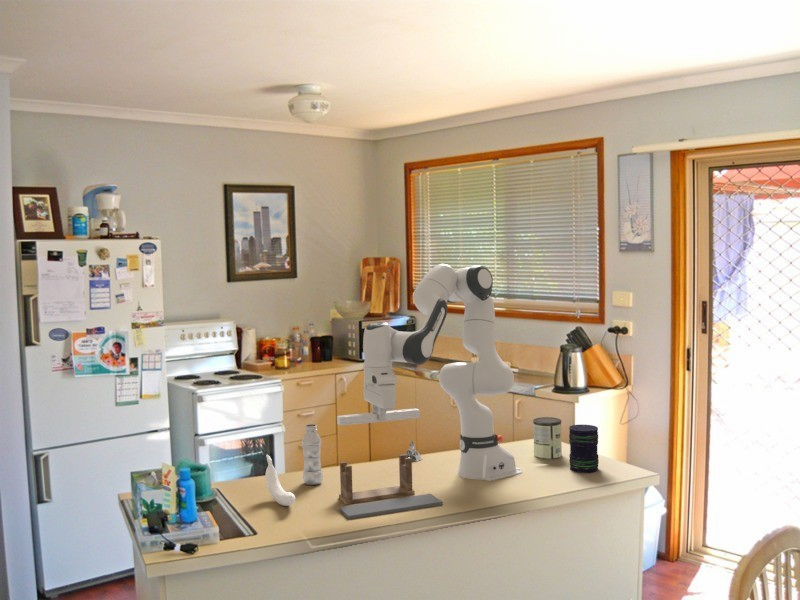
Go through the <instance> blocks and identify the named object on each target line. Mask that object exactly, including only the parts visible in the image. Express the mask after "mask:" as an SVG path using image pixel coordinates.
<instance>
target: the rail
mask: <svg viewBox="0 0 800 600" xmlns="http://www.w3.org/2000/svg"><path fill="white" fill-rule="evenodd" d="M420 412H421V410H420V409H418V408H405V409H395V410H394V409H392V410H387V411H386V414H385V421H379V420H378V415H379V412H373V411H372V412H364V413H352V414H344V415H337V416H336V422H337V425H338V426H341V427H342V426H351V425H352V426H353V425H361V424H370V423H371V424H372V423H383V422H392V421H400V420H401V421H403V420H411V419H420V418H421V415H420V414H421V413H420Z"/></svg>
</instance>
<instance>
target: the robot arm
mask: <svg viewBox="0 0 800 600" xmlns="http://www.w3.org/2000/svg"><path fill="white" fill-rule="evenodd" d="M493 285H494V281H493V275H492V273H491V271H490V270H489V269H488V268H487V267H486V266H485V265H481V264H480V265H477V264H476V265H472V266H468V267H462V268H459V269H457V270H455V269H454V268H453V267H452V266H451V265H449V264H445V263H439V264H436V265H434V267H433V268H431V269H429V271H428V272H427V273H426V274H424V276H423V278H422V279H421V280H420V281H419V283H418V284H417V286H416V287H415V289H414V291H413V294H412V300H413V303H414V306H415V307H416V309H417V310H418V311H419V312H420V313H421V314H423V315H424V316H426V318H425V319H424V322H423V324H422V326H421V328H419V329H418V330H414V331H401V330H400V331H399V330H397V329H394V328H393V327H391V326H390V324H389V322H385V321H375V322H371V323H369V324H367V325H366V326H365V328H364V332H363V336H362V337H363V339H362V340H363V341H362V343H363V344H362V349H363V350H362V352H363V355H364V362H363V399H364V401H365V402H368V403H369V404H371V410H372V412H379V415H378V420H379V421H383V422H386V421H385V414H386V411H392V410H394V409H395V408H396V403H397V387H396V384H398V377H397V375H396V374H395V372H394V370H393V362H397V363H398V362H399V363H407V364H408V363H409V364H414V365H418V366H420V365H424V364H425V363H427V362H428V360H430V359H431V357H432V355H433V351H434V347H435V343H436V341H437V338H438V336H439V335H440V332H441V329H442V327H443V325H444V323H445V320H446V318H447V314H448V309H449V308H448V307H449V306H448V304H447V303H449V304H455V303H457V302H459V303H460V302H462V303H463V306H464V314H463V320H462V321H463V324H462V335H461V336H462V338H461V339H462V340H461V342H462V345H463V348H465V349H466V351H468V352H470V353H472V354H474V355H476V356H477V358H478V361H476V362H474V361H473V362H470V361H469V362H468V361H466V362H463V361H459V362H458V361H455V362H451V363H447V364H446V363H445V364H444V365H443V366H442V368H441V369H440V371H439V375H438V381H439V385H440V387H441V389H442V390H443V391H444V392H445V393H447V394H448V396H450V397H451V398H452V400H453V401H454V403H455V404H456V407H457V410H458V412H459V418H460V419H459V420H460V421H459V422H460V434H459V451H460V458H459V464H458V465H459V466H458V470H457V476H459V477H462V478H464V479H469V480H481V481H488V482H490V481H494V480H500V479H505V478H508V477H513V476H517V475H520V474H523V470H522V469H521V468H520V467H519V466H516V465H517V464H516V461H515V457H514V455H513V454H512V453H511V452H510V451H508V450H507V449H506V448H504V447H503V446H501V445H500V444H499V442H500V443H502V442H503V441H504V439H505V437H504V436H503V435H501V434H496V433H494V413H493V412H492V410H491V408H489V407H488V406H487V405H485V404H483V403H481V402H480V401H479V400H478V399H477V397H476V395H477V396H478V395H479V396H480V395H481V396H483V395H484V396H497V395H503V394H508V393H509V392H510V391H511V390H512V389H513V386H514V383H515V375H514V374H515V373H514V372H513V370H512V368H511V367H510V366H509V365H508V364H506V362H504V360H502V358H501V357H500V356H499V353H498V351H497V348H496V341H495V339H496V336H495V335H496V334H495V333H496V332H495V331H496V330H495V329H496V312H495V304H494V300H493V297H491V295H492V292H493V287H494V286H493Z"/></svg>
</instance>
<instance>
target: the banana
mask: <svg viewBox="0 0 800 600" xmlns="http://www.w3.org/2000/svg"><path fill="white" fill-rule="evenodd" d="M265 458H266V462H267V464H268V465H267V468H266V471H265V482H266V483H265V484H266V486H267V490H268V492H269V493H270V496H271V497H272V499H273V500H274V501H275V502H276V503H277V504H279V505H281V506H284V507H288V506H291V505H293V504H294V503H295V501H296V495H295V494H294V493H293V492H291V491H286V490H285V489H284V488H283V486H282V485H281V482H280V479H279V476H278V472H277V470H276V467H274V465H273V460H272V458H271V456H270V455H269V454H266V456H265Z"/></svg>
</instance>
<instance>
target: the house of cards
mask: <svg viewBox="0 0 800 600" xmlns="http://www.w3.org/2000/svg"><path fill="white" fill-rule="evenodd" d="M404 454H405V455H406V458H408V457H410V458H412V462H414V463H417V462H420V461H422V460H423V458H422V456H421V454H420V452H419V451H418V450H416V444H415V441H414V440H413V441H410V444H409V449H407V451H406V453H404Z"/></svg>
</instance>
